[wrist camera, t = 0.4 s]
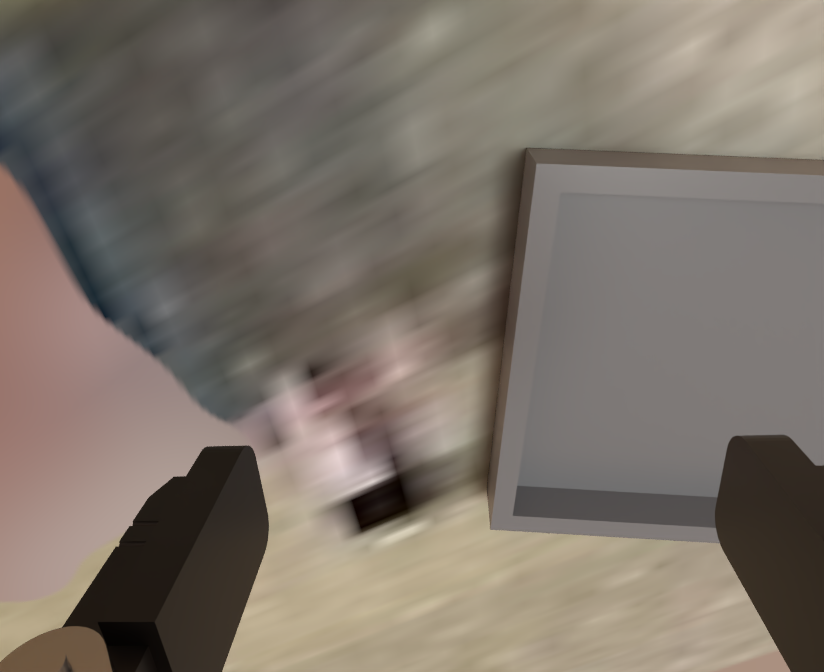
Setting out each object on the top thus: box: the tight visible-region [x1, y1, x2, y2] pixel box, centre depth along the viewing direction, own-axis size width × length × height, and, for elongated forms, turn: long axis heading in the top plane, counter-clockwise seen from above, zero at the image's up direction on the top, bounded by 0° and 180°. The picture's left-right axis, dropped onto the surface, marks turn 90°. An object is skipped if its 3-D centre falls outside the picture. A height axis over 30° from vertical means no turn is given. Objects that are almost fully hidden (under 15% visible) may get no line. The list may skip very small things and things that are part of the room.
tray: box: [487, 148, 824, 543], centre depth 27 cm, size 18×22×3 cm
